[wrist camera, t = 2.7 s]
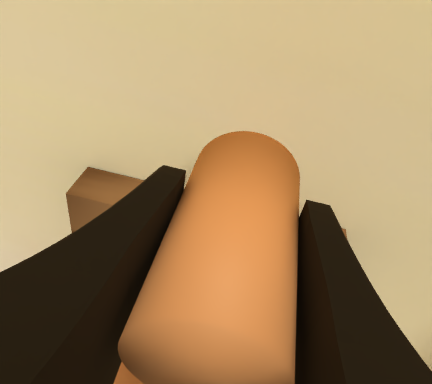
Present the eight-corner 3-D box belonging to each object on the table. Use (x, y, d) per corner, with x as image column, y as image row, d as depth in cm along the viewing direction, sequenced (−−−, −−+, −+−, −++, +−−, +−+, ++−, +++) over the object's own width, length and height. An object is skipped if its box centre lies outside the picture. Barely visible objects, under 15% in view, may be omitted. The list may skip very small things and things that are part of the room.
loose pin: (314, 146, 10) (321, 353, 5) (283, 226, 12) (268, 427, 7) (202, 120, 10) (115, 298, 6) (190, 203, 12) (119, 385, 8)
